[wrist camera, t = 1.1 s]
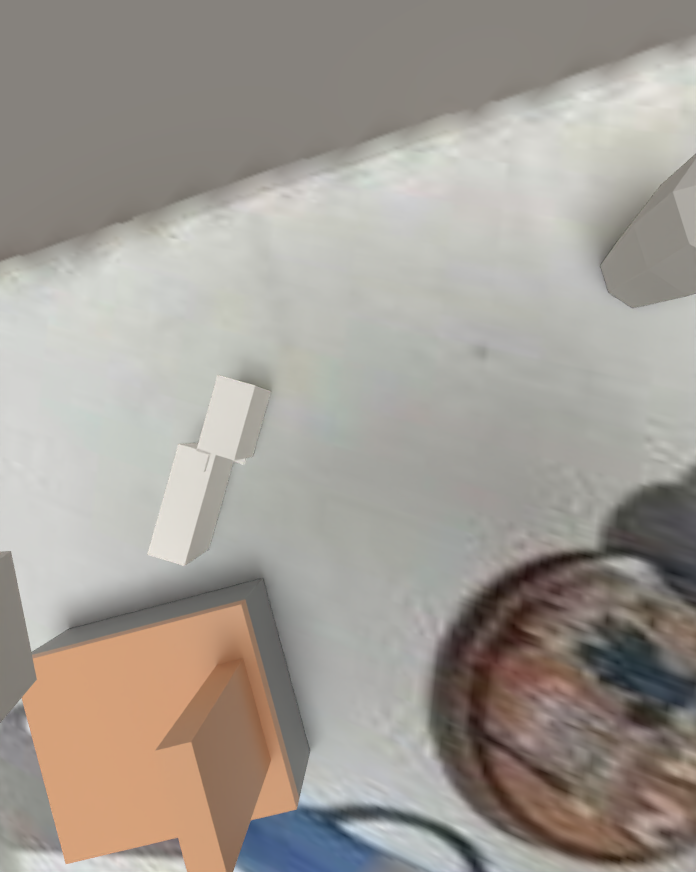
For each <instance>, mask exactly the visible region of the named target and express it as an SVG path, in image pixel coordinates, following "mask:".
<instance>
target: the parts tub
mask: <svg viewBox="0 0 696 872" xmlns="http://www.w3.org/2000/svg"><path fill="white" fill-rule="evenodd" d="M244 599H245V600H246V603H247V607H248V611H249V615H250V618H251V622H252V626H253V629H254V633H255V637H256V640H257V644H258V648H259V651H260V655H261V659H262V663H263V666H264V670H265V674H266V677H267V681H268V685H269V688H270V692H271V696H272V699H273V703H274V707H275V710H276V714H277V718H278V722H279V725H280V729H281V733H282V736H283V740H284V744H285V747H286V751H287V755H288V758H289V762H290V766H291V770H292V773H293V777H294V781H295V784H296V788H297V792H298V795H299V797H300V793H301V789H302V784H303V780H304V776H305V771H306V767H307V763H308V758H309V754H310V750H309V746H308V742H307V739H306V735H305V731H304V728H303V724H302V720H301V716H300V713H299V709H298V705H297V702H296V698H295V694H294V691H293V687H292V683H291V680H290V676H289V672H288V669H287V665H286V661H285V658H284V654H283V650H282V647H281V643H280V639H279V635H278V632H277V628H276V624H275V621H274V617H273V613H272V610H271V606H270V602H269V599H268V595H267V591H266V588H265V584H264V580H263V578H262V579H258V580H254V581H250V582H246V583H243V584H239V585H235V586H231V587H227V588H223V589H220V590H216V591H212V592H208V593H204V594H201V595H197V596H193V597H189V598H185V599H182V600H178V601H174V602H170V603H166V604H163V605H159V606H155V607H151V608H147V609H144V610H140V611H136V612H132V613H128V614H125V615H121V616H117V617H113V618H109V619H105V620H102V621H98V622H94V623H90V624H86V625H83V626H79V627H75V628H71V629H68V630H66V631H65V632H63V633H61V634H60V635H58V636H57V637H55V638H53V639H52V640H50V641H49V642H47V643H45V644H44V645H42V646H40V647H39V648H37V649H36V650H34V651H32V652H31V653H32V655H33V654H37V653H41V652H45V651H49V650H53V649H56V648H60V647H64V646H68V645H72V644H76V643H79V642H83V641H87V640H91V639H95V638H99V637H102V636H106V635H110V634H114V633H118V632H122V631H125V630H129V629H133V628H137V627H141V626H145V625H148V624H152V623H156V622H160V621H164V620H168V619H171V618H175V617H179V616H183V615H187V614H191V613H194V612H198V611H202V610H206V609H210V608H214V607H217V606H221V605H225V604H229V603H233V602H237V601H240V600H244Z"/></svg>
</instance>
